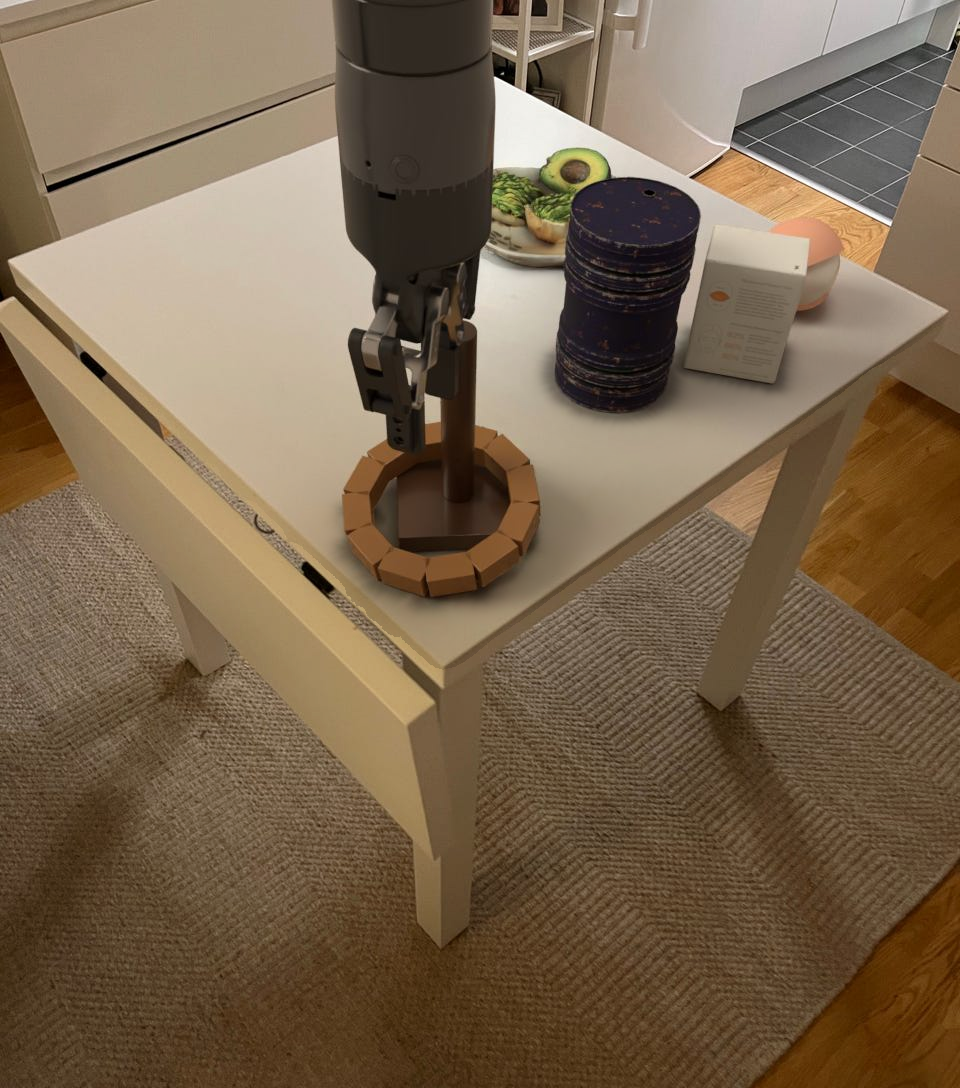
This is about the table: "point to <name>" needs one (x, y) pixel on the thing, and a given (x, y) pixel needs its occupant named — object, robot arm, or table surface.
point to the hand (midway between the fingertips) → (423, 420)
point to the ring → (453, 568)
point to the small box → (746, 302)
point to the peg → (452, 477)
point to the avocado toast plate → (540, 205)
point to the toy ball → (815, 257)
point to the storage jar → (623, 291)
